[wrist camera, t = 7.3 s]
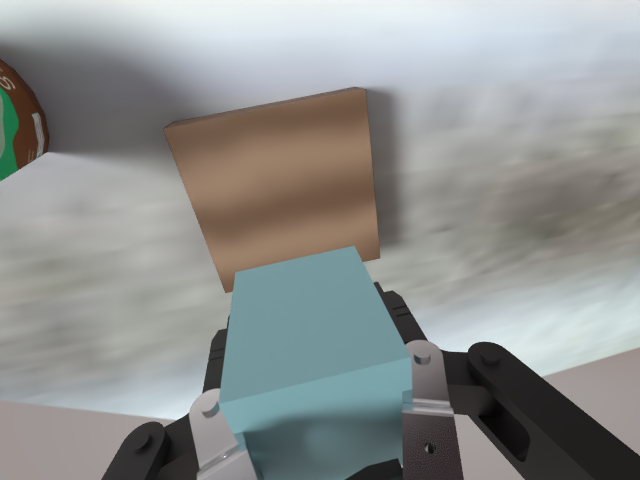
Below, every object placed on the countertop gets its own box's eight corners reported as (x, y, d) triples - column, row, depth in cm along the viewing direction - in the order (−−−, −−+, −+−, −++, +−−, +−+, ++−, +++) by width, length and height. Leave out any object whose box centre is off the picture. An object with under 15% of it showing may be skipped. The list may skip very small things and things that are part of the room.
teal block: (235, 272, 13) (218, 404, 8) (354, 245, 14) (411, 357, 8) (265, 356, 16) (266, 500, 11) (365, 332, 16) (415, 460, 11)
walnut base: (173, 122, 25) (162, 128, 22) (355, 86, 25) (365, 89, 23) (228, 274, 31) (225, 293, 29) (370, 242, 32) (380, 258, 30)
